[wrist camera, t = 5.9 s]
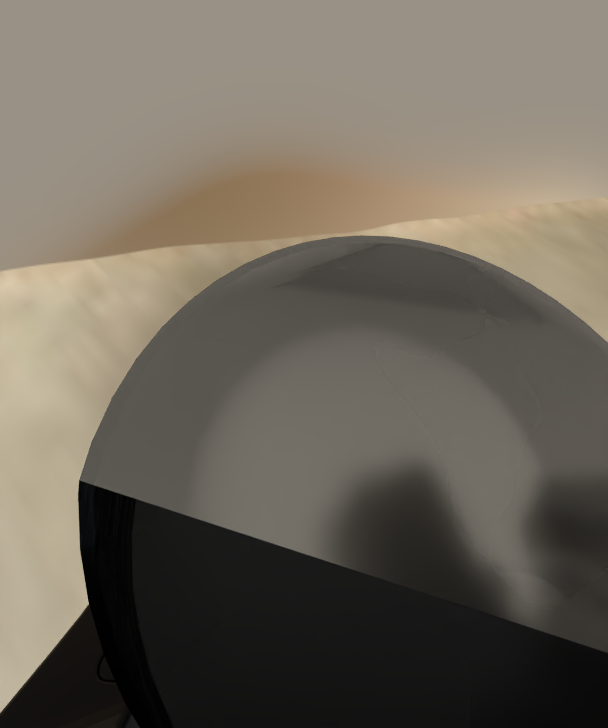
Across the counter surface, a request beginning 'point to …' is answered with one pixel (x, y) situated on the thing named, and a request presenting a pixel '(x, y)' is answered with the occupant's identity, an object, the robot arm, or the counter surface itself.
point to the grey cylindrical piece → (356, 500)
